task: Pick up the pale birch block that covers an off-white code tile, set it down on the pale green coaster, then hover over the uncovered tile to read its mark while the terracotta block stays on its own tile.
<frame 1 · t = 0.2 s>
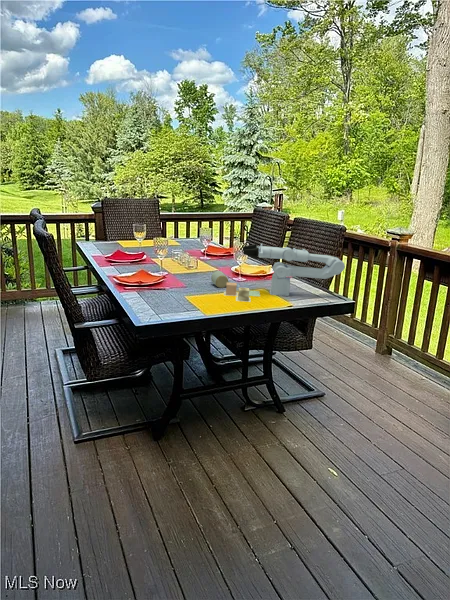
hand: (243, 250, 217), 21 cm above the table, tool horizontal, fingers open, 7 cm apart
ceramic mug: (221, 286, 231), on the table
code tile b: (230, 294, 217), on the table
birch block: (243, 299, 209), resting on code tile a
code tile a: (243, 299, 210), on the table
coaster: (250, 293, 220), on the table
terracotta block: (230, 293, 217), resting on code tile b
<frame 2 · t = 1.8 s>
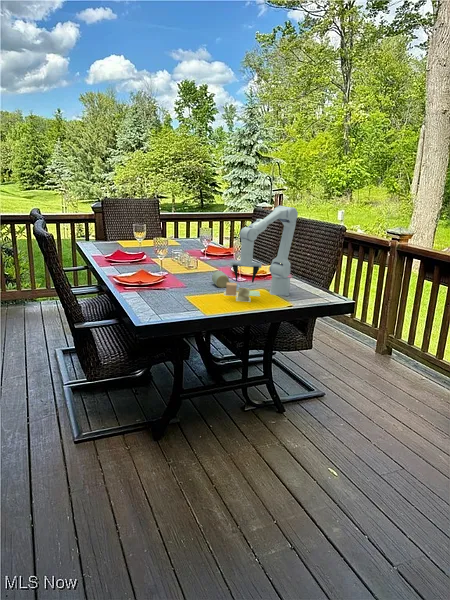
hand: (244, 281, 207), 9 cm above the table, tool pointing down, fingers open, 7 cm apart
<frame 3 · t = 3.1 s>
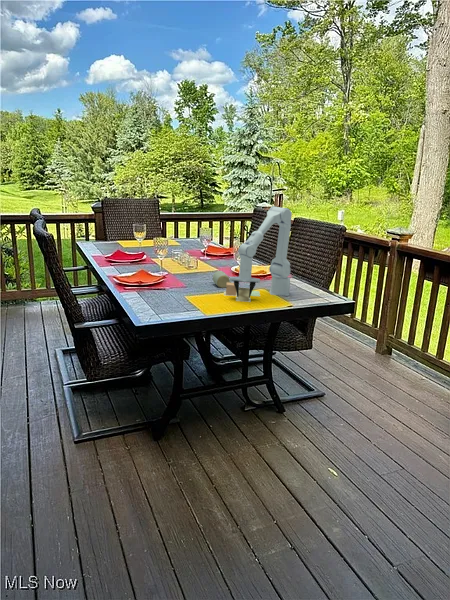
hand: (243, 296, 209), 2 cm above the table, tool pointing down, fingers closed on birch block, 5 cm apart
birch block: (243, 299, 209), resting on code tile a, touching gripper
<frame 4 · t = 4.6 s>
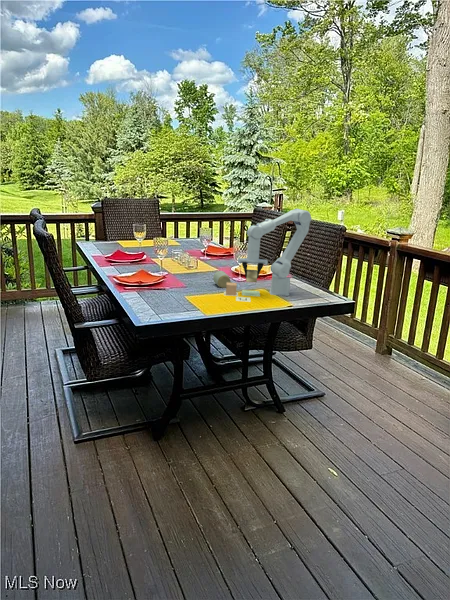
hand: (251, 277, 216), 9 cm above the table, tool pointing down, fingers closed on birch block, 5 cm apart
birch block: (251, 280, 216), point 7 cm above the table, touching gripper
when the fingers open (3 cm above the table, at t = 6.4 s): birch block stays where it is, resting on coaster.
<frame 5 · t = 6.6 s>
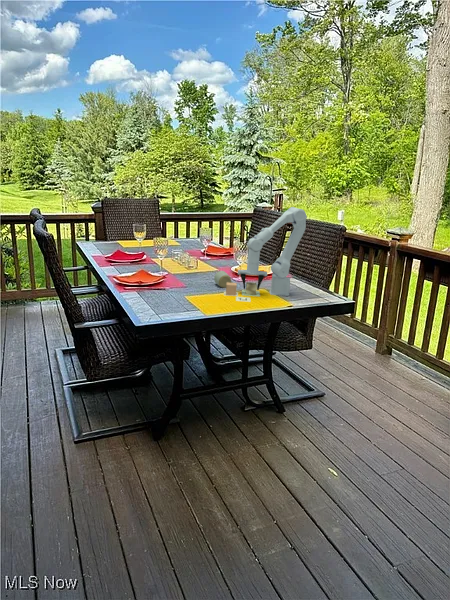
hand: (251, 288, 219), 3 cm above the table, tool pointing down, fingers open, 6 cm apart
birch block: (250, 293, 220), resting on coaster
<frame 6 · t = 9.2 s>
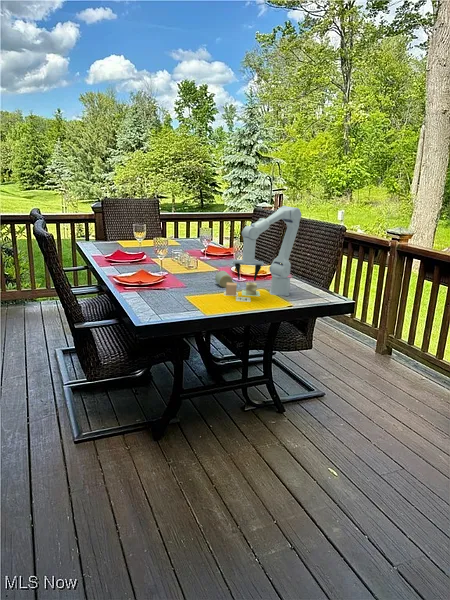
hand: (246, 279, 209), 9 cm above the table, tool pointing down, fingers open, 7 cm apart
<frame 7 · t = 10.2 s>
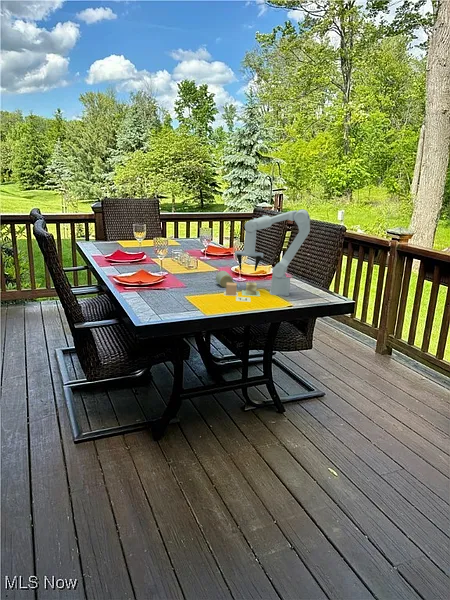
hand: (247, 270, 225), 10 cm above the table, tool pointing down, fingers open, 7 cm apart
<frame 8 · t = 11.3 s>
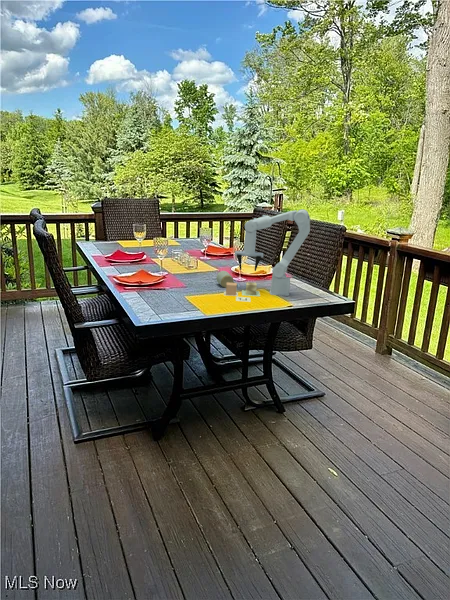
hand: (247, 270, 225), 10 cm above the table, tool pointing down, fingers open, 7 cm apart
at the end: birch block inside the target area on the coaster (0.3 cm from its centre), point 0.4 cm above the coaster's base; birch block tilted 0°; terracotta block moved 0.1 cm from its start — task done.
